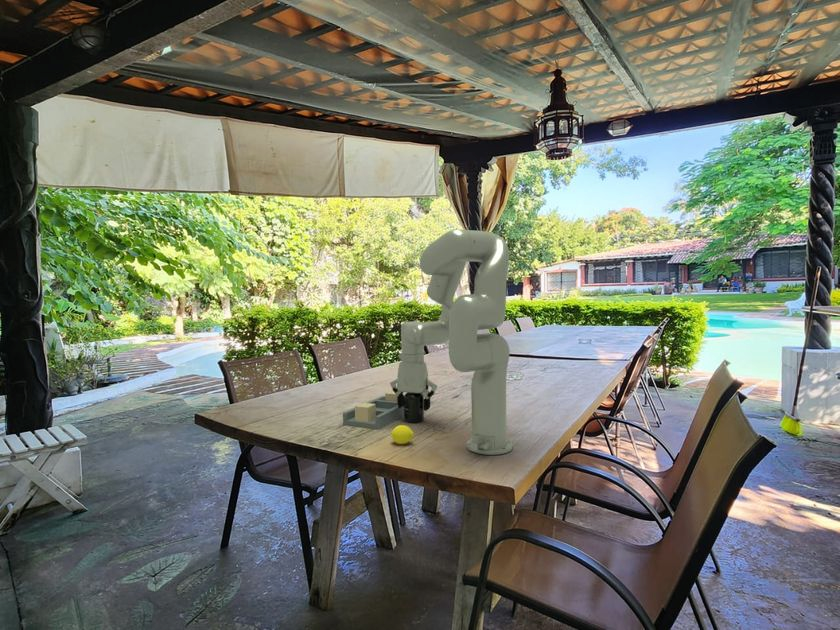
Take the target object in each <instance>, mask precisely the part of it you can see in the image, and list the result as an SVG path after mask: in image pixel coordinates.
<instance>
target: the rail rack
mask: <svg viewBox="0 0 840 630" xmlns="http://www.w3.org/2000/svg"><path fill="white" fill-rule="evenodd" d="M402 394H403V395H405V394H404V392H403V393H402ZM400 418H404V406H403V407H401V408H398V404H397V396H396V394H395V392H394V391H393V390H389V391H388V392H385V393H384V395H381V396H378V397H376V398H374V399H371V400H369V401H367V402H362V403H358V404H356V405H355V406H354V407H353V408H351V409H349V410H346V411H344V412H342V425H343V426H349V427H359V428H364V429H365V428H366V429H373V430H381V429H383V428H385V427H387V426H389V425H390V424H392V423H394V422H395V420H396V421H398V420H400ZM393 421H394V422H393ZM386 425H387V426H386ZM384 426H385V427H384Z"/></svg>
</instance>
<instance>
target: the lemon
mask: <svg viewBox="0 0 840 630" xmlns="http://www.w3.org/2000/svg"><path fill="white" fill-rule="evenodd" d="M414 435H415V433H414V431H413V430H412V429H411V427H409V426H408V425H403V424H399V425H397V426H395V428H393V429H392V431H391V433H390V437H391V439H392V440H393V442H395V444H397V445H406V444H408V443H409V442H411V440H412V438H413V437H414Z"/></svg>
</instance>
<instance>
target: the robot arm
mask: <svg viewBox="0 0 840 630" xmlns="http://www.w3.org/2000/svg"><path fill="white" fill-rule="evenodd" d="M509 261H510V250H509V246H508V243H507V242H506V241H505V239H504V238H503V237H501V236H500V235H498V234H497V233H494V232H490V231H484V230H471V229H461V228H460V229H457V228H456V229H451V230H449V231H447V232H445V233H444V234H442V235H441V236H440V237H438V238H437V239H435V240H433V242H431V243H430V244H429V245H427V246H426V247H425V249H424V250H423V251H422V252H421V255H420V258H419V266H420V267H419V268H420V270H421V271H422V272H423V274H425V275H426V276H427V275H428V276H431V277H430V280H429V283H428V286H427V289H426V295H427V297H428V298H430V299H431V300H432V301H433V302H435V303H437V304H439V305H441V313H440V316H439V319H438V320H437V321H426V322H421V321H405V322H402V324H401V326H400V330H401V331H400V338H401V339H400V340H401V341H400V342H401V353H399V354H398V358H399V359H400V361H399V364H398V369H397V378H396V379H395V380H392V381H391V382H390V383H389V384H390V387H391V389H392V390H391V391H394V392H395V394H396V396H397V404H398V408H401V407H403V406H404V395H405V394H404V393H407V392H408V393H422V394H423V396H424V412H426V411H428V410H430V407H431V398H432V396H434V395H435V394H436V391H437V389H438V385H437V384H435V383H434V382H432V381H430V380H429V373H428V367H427V363H426V361H425V350H424V349H425V347H426V346H432V345H433V346H434V345H441V344H445V343H447V342H448V356H449V361H450V363H451V365H452V367H453V369H454V370H456V371H458V372H461V373H470V372H473V375H472V378H471V382H470V383H471V384H470V385H471V387H470V388H471V389H470V390H471V391H470V392H471V396H470V397H471V438H469V439H468V440H466V448H467V449H468V450H469V451H470V452H472V453H476V454H479V455H484V456H485V455H487V456H495V455H503V454H506V453H509V452H511V451H512V450H513V448H514V447H513V442H512V441H510V440H509V439H508V437H507V436H508V435H507V426H508V425H507V424H508V423H507V373H508V371H507V370H508V365H509V360H510V346H509V343H508V341H507V340H506V339H505V337H503V336H502V335H500V334H498V333H493V332H487V333H486V332H485V333H479V334H478V331H481V330H490V329H496V328H498V327H500V326H501V325H503V323H504V321H505V317H506V308H507V307H506V305H507V301H506V300H507V277H508V269H509V263H510V262H509ZM467 262H471V263H472V262H478V263H481V264H480V266H479V267H478V269H477V271H476V273H475V277H474V287H473V288H474V290H473V293H471V294H468V293H467V294H463V295H460V296H458V297H457V298H456V299H455V300H454V297H455V295H456V292H457V290H458V286H459V283H460V282H461V278H462V276H463V273H464V271H465V267H466V264H467ZM429 387H430V388H431V390H429ZM402 393H403V394H404V395H403V394H402Z"/></svg>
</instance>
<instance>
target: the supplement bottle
mask: <svg viewBox="0 0 840 630" xmlns="http://www.w3.org/2000/svg"><path fill="white" fill-rule="evenodd" d="M424 399H425V397H424V396H423V394H422V393H408V392H405V394H404V416H403V420H404V421H405V422H406V423H409V424H410V423H411V424H419V423H422V422H424V421H425V411H424Z"/></svg>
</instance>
